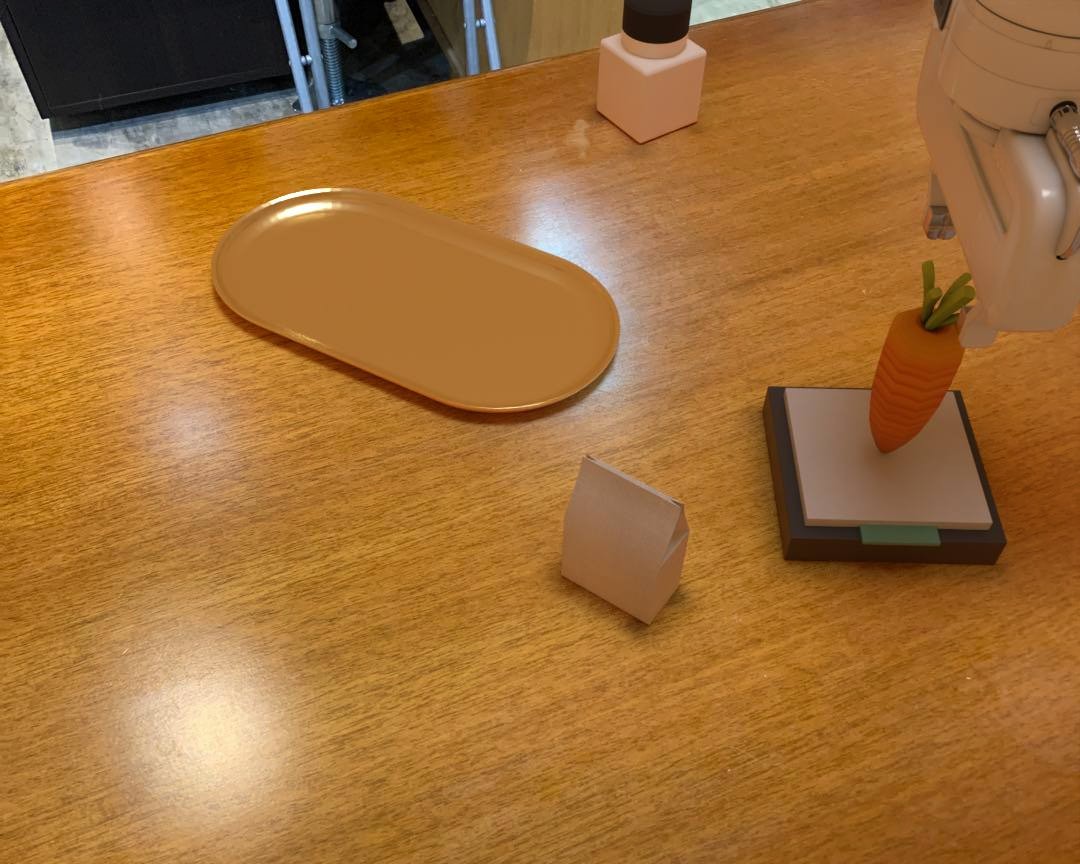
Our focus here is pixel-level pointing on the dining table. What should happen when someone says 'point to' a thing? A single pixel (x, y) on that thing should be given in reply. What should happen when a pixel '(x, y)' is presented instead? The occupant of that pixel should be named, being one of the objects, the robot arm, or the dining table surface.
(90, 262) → the dining table surface
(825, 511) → the kitchen scale
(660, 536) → the brown paper bag
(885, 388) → the carrot
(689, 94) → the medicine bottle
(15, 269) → the dining table surface
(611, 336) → the serving platter
